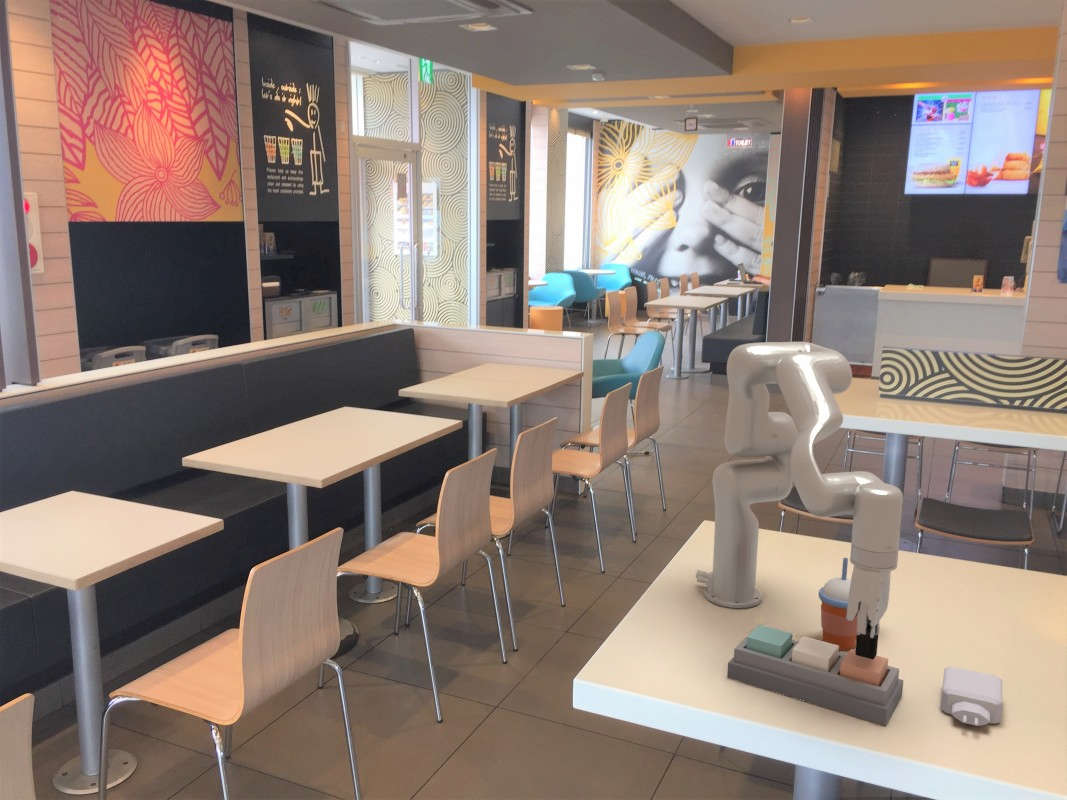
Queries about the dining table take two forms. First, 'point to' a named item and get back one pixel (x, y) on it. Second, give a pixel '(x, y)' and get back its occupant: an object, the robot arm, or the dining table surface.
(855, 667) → the terracotta key
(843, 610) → the cup with straw
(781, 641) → the teal key
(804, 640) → the cream key
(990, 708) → the charger
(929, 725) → the dining table surface
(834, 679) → the keypad
